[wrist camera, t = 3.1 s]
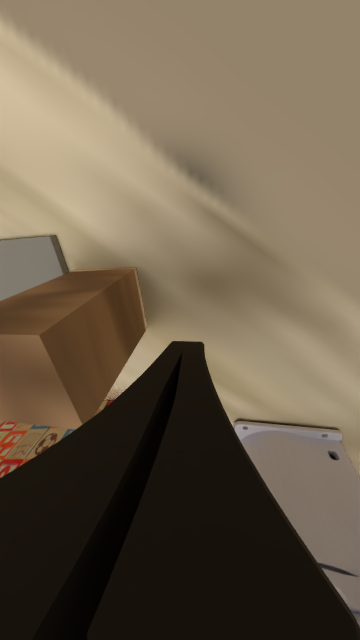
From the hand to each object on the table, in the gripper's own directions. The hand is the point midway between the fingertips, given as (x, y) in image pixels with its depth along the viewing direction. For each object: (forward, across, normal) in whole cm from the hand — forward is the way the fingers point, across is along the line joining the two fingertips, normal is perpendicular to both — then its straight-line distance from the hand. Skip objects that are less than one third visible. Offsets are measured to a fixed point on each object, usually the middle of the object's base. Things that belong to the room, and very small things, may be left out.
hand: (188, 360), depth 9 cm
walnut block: (+7, +7, 0) cm, 10 cm away
